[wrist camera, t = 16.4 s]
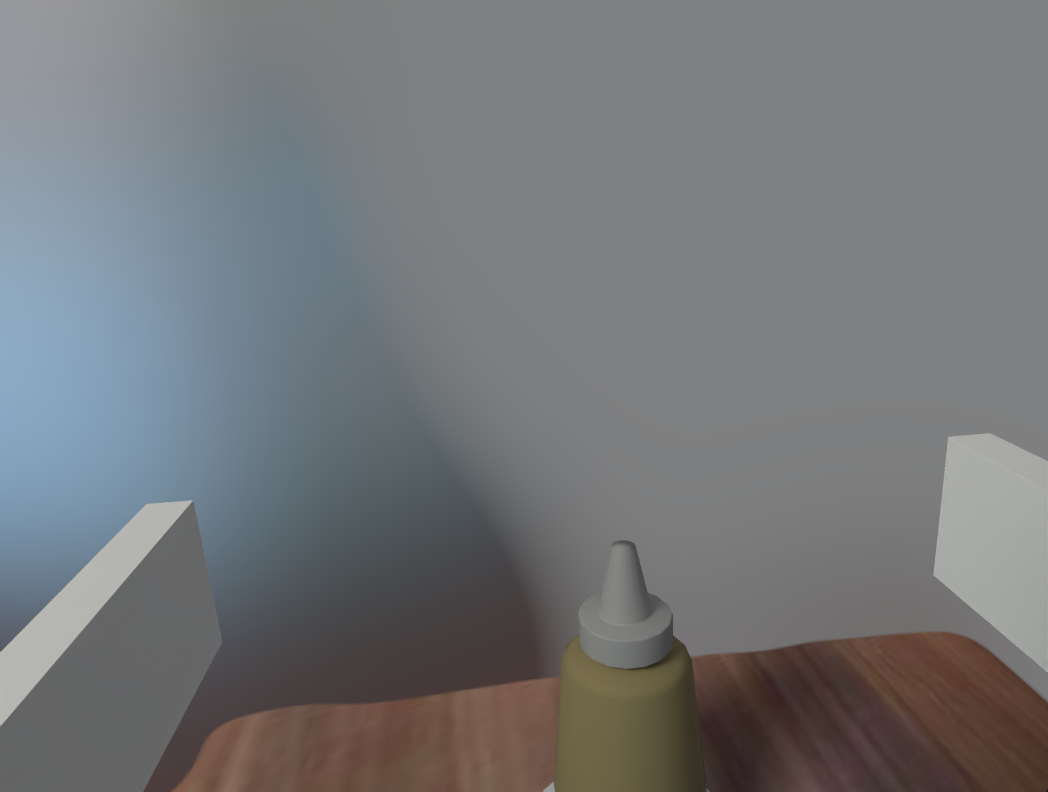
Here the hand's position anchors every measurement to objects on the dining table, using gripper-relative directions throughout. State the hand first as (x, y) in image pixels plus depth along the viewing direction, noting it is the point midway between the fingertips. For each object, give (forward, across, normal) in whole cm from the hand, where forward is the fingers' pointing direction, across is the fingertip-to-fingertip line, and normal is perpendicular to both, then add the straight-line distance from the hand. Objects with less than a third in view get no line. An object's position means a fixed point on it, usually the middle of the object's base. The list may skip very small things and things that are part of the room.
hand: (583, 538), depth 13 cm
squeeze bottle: (+20, +4, -29) cm, 36 cm away
